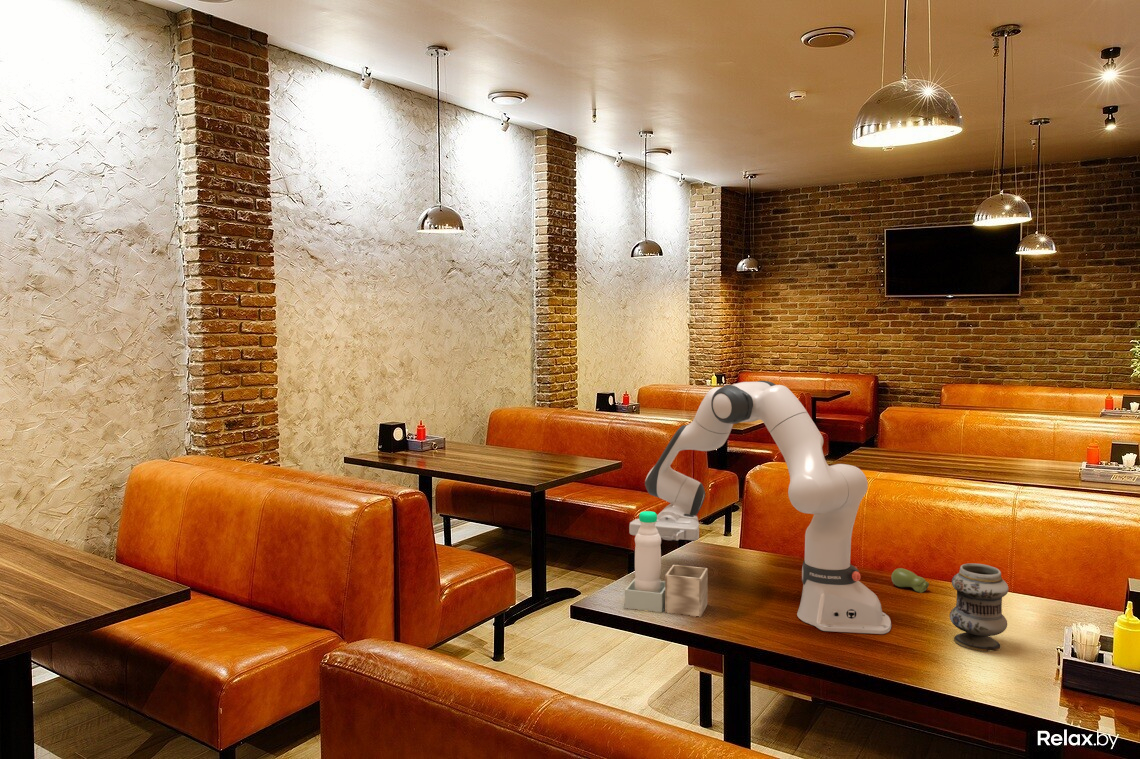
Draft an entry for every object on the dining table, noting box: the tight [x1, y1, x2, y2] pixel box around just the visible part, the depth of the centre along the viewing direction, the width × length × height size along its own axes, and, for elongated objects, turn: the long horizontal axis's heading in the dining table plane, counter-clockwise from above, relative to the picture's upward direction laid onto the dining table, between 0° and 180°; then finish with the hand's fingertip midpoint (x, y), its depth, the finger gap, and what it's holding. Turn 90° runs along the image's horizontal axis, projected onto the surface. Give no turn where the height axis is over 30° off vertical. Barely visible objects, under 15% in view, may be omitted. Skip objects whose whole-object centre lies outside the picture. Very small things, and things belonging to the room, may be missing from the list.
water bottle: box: [634, 510, 662, 593], centre depth 212 cm, size 7×7×25 cm
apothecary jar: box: [949, 562, 1009, 653], centre depth 186 cm, size 12×12×18 cm
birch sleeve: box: [664, 564, 708, 618], centre depth 209 cm, size 9×9×10 cm
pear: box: [890, 567, 930, 594], centre depth 225 cm, size 6×5×10 cm
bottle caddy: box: [624, 577, 665, 613], centre depth 213 cm, size 10×10×5 cm
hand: (658, 536), depth 223 cm, fingers open, 8 cm apart
